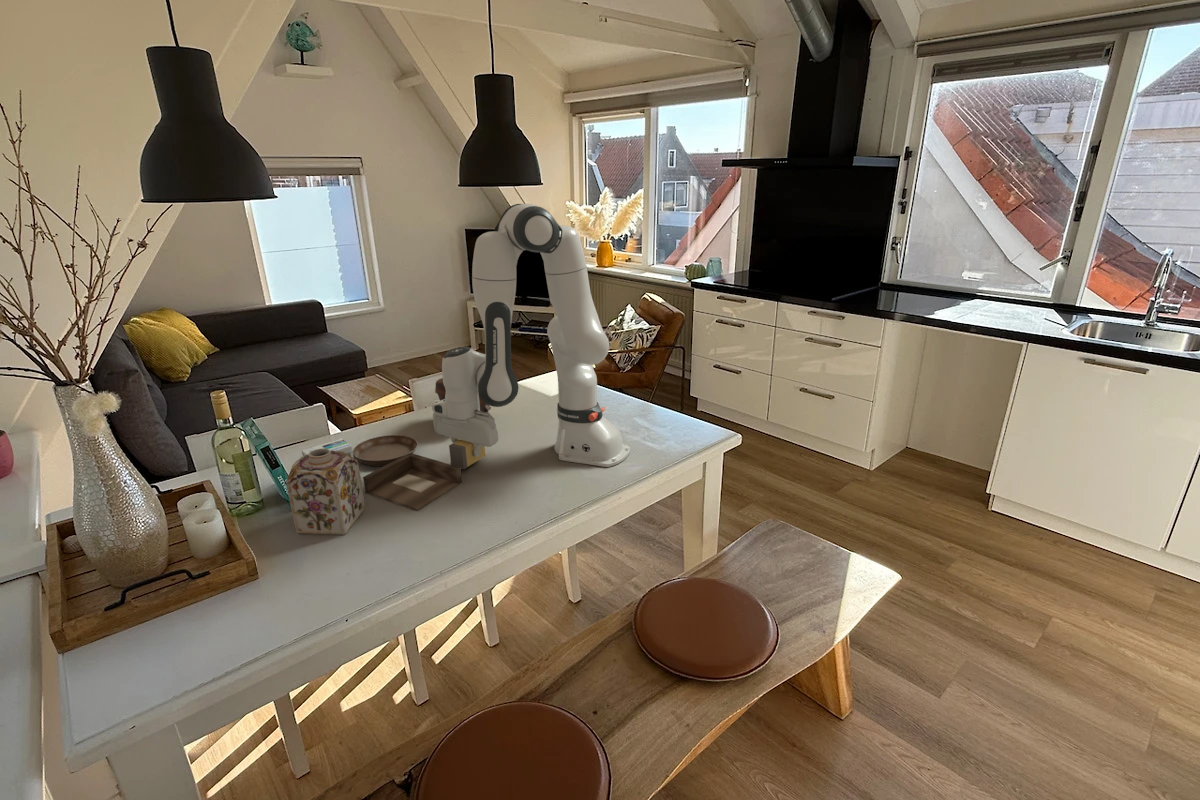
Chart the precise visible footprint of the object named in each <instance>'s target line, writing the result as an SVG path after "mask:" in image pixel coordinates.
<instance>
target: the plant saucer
mask: <svg viewBox="0 0 1200 800" xmlns="http://www.w3.org/2000/svg"><path fill="white" fill-rule="evenodd" d="M418 445H419V443H418V441H417V440H416V439H415V438H414V437H411V436H407V435H403V434H402V435H401V434H400V435H399V434H392V435H391V434H389V435H381V436H377V437H372V438H369V439H367V440H364V441H362V442H360V443H358V444H357V445H356V446H355V447H354V448H352V452H353V457H354V458H355V459H356V460H357V461H358V462H359V461H360V463H363V464H365V465H366V466H373V467H383V466H385V465H387V464H389V463H391V462H393V461H395V460H397V459H399V458H401V457H403V456H405V455H407V454H409V453H413V454H415V451H416V450H417V448H418Z"/></svg>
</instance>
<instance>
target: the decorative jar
mask: <svg viewBox="0 0 1200 800" xmlns="http://www.w3.org/2000/svg"><path fill="white" fill-rule="evenodd" d="M285 482H286V483H285V484H286V489H287V494H288V499H289V506H290V509H291V515H292V519H293V523H294V527H295V531H296V533H297V534H305V535H306V534H307V535H335V536H336V535H338V536H339V535H341V536H345V535H346V534H347V533H348V532H349V530H350V529H351V528H352V526H353V525H354V523H355V522H356V521H357V520H358V519H359V517H360V516H361V515H362V513H364V511H365V510H366V503H365V496H364V489H363V483H362V477H361V471H360V466H359V460H358V459H356V458H355V457H353V458H352V457H351V456H350V455H348V454H346V453H344V452H342V451H330V450H329V449H324V448H323V449H316V450H313V451H311V452H309V454H308V455H305V456H303V455H302V456H300V458H298V459H297V460H296V461H295V462H294V463H293V464H292V466H291V469H290V472H289V474H288V476H287V479H286V480H285Z"/></svg>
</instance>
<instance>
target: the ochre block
mask: <svg viewBox="0 0 1200 800" xmlns="http://www.w3.org/2000/svg"><path fill="white" fill-rule="evenodd" d="M475 447H476V446H474V443H471V442H467V441H463V440H460V439H459V440H458V441H456V442H455V443H453V442H452V443H451V444H449V445H448V448H449V449H448V451H449V457H450V465H454V466H457V467H460V468H461V469H462V470H464V469H467V468H469V467H470V466H472V465H473V464H475V463H476V462H477V461H479V460H481V459H483V458H485V456H486V446H483V445H482V447H481V449H480V456H478V457H475V456H472V450H474V449H475Z"/></svg>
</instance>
